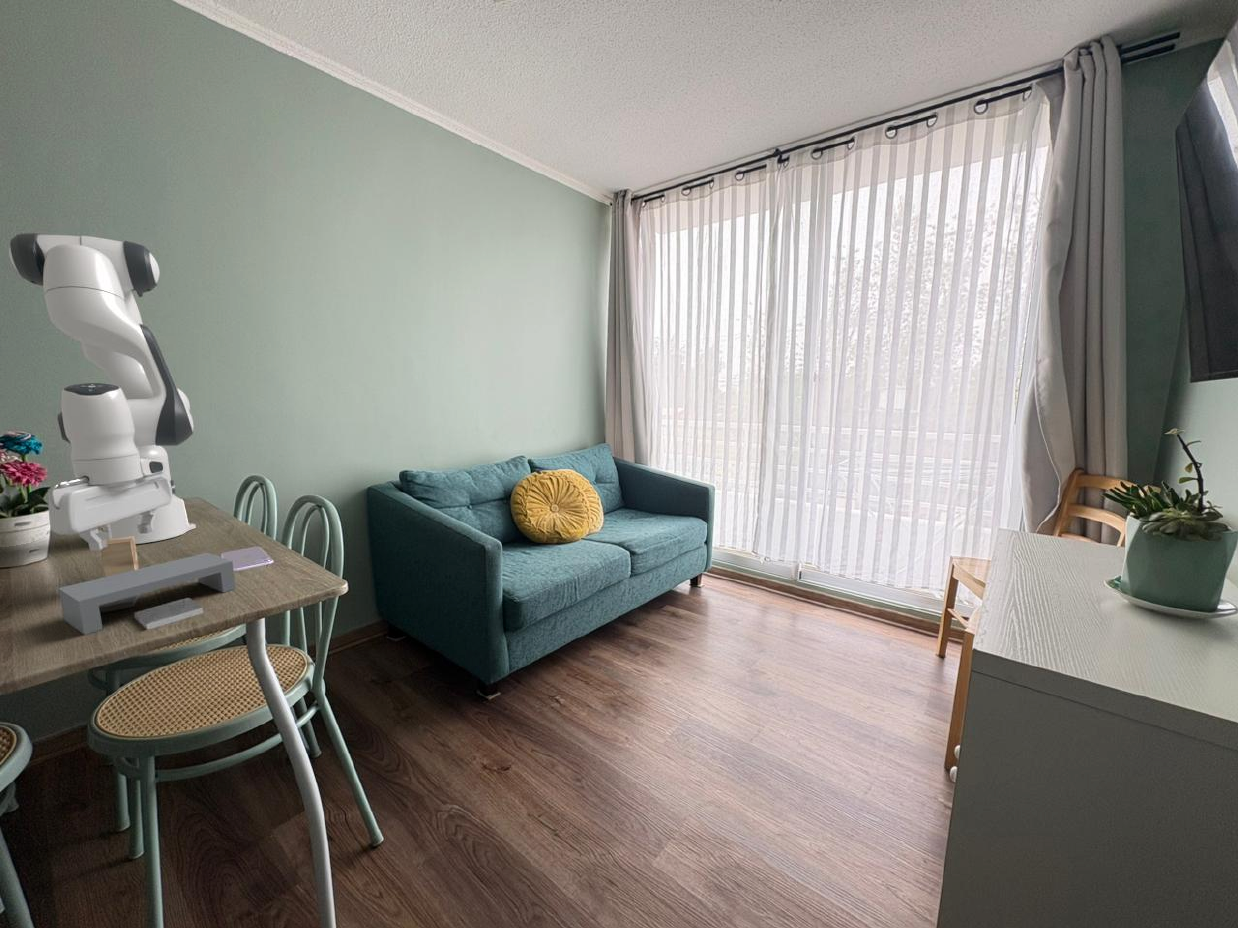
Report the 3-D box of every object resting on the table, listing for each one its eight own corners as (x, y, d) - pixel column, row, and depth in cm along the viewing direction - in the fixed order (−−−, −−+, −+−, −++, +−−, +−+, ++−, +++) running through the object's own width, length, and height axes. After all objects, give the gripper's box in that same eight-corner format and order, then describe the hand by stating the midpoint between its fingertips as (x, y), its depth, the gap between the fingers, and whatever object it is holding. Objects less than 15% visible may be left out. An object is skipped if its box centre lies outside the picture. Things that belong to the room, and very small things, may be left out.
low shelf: (63, 619, 79) (58, 588, 78) (211, 578, 97) (208, 552, 96) (84, 634, 74) (78, 601, 74) (235, 588, 92) (232, 561, 91)
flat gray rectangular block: (135, 621, 80) (134, 612, 80) (189, 605, 86) (188, 597, 86) (147, 632, 76) (146, 623, 76) (203, 615, 82) (202, 607, 82)
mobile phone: (259, 544, 116) (274, 560, 106) (260, 548, 116) (275, 564, 106) (219, 552, 110) (230, 569, 100) (219, 556, 110) (231, 573, 100)
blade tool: (104, 585, 93) (97, 540, 92) (147, 578, 97) (140, 535, 95) (83, 616, 81) (74, 565, 79) (133, 606, 84) (125, 557, 83)
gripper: (66, 484, 80) (84, 561, 83) (173, 460, 100) (184, 523, 103) (27, 484, 80) (46, 562, 83) (142, 460, 100) (154, 524, 103)
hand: (124, 540), depth 93 cm, fingers open, 8 cm apart
